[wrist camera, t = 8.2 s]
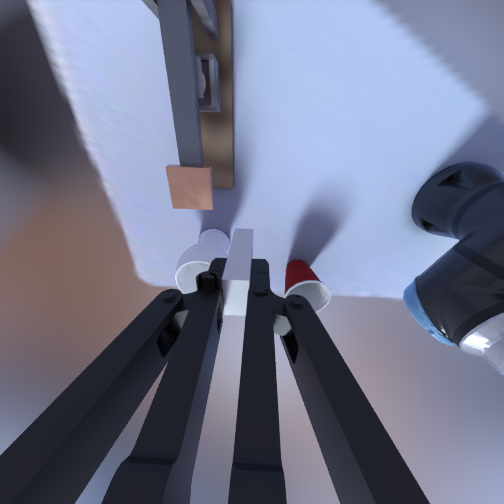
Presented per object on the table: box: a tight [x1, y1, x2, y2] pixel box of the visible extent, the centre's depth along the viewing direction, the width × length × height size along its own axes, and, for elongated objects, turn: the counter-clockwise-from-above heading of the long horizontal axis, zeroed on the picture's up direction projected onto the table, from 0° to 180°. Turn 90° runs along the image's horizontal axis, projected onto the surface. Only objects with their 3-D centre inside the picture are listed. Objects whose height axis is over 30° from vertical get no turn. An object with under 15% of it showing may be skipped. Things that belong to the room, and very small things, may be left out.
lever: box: [157, 0, 214, 210], centre depth 27 cm, size 23×6×5 cm, turn 178°
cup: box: [175, 229, 230, 294], centre depth 44 cm, size 11×11×15 cm
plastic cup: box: [284, 260, 332, 313], centre depth 49 cm, size 11×11×12 cm
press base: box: [142, 0, 234, 189], centre depth 30 cm, size 26×10×15 cm, turn 178°
